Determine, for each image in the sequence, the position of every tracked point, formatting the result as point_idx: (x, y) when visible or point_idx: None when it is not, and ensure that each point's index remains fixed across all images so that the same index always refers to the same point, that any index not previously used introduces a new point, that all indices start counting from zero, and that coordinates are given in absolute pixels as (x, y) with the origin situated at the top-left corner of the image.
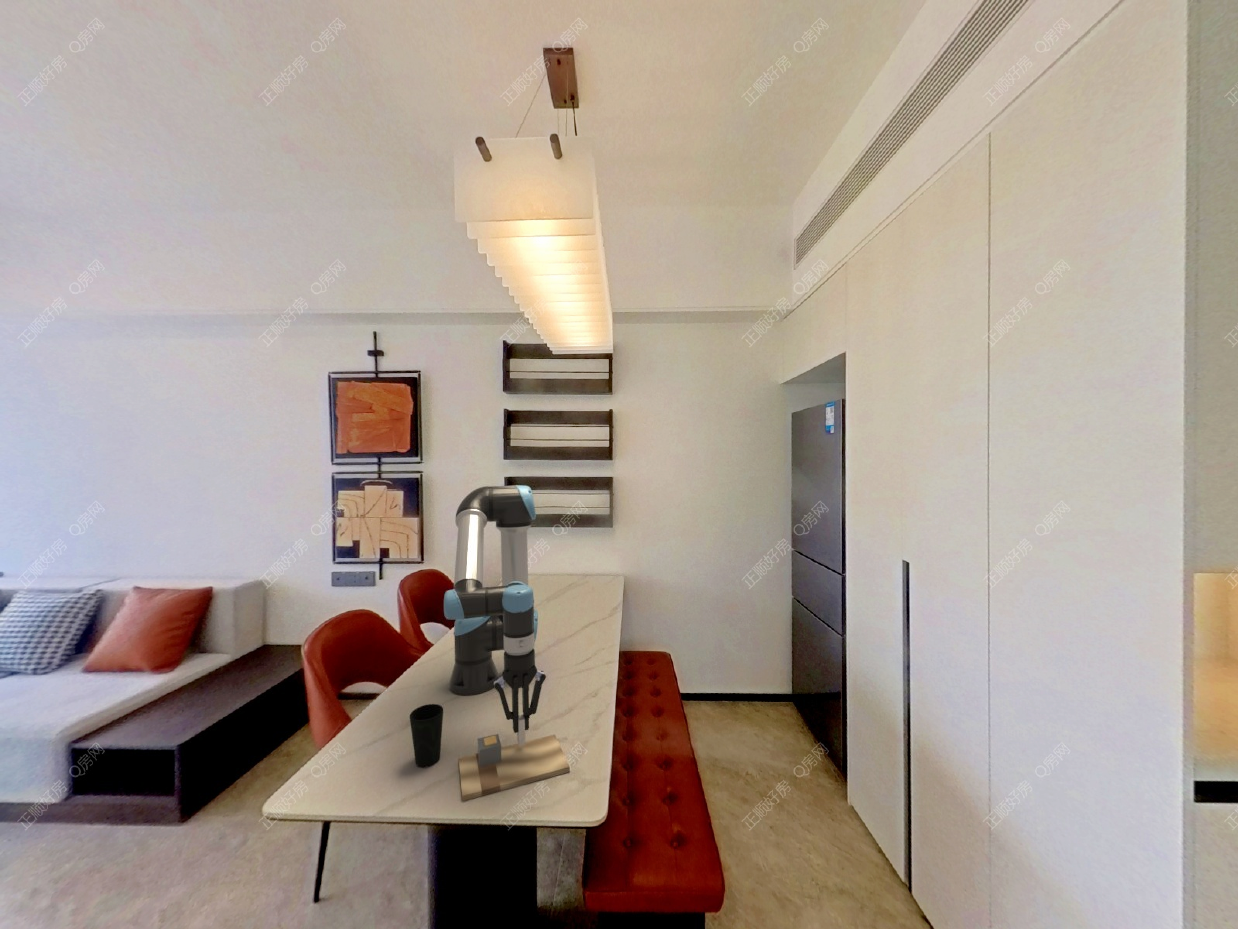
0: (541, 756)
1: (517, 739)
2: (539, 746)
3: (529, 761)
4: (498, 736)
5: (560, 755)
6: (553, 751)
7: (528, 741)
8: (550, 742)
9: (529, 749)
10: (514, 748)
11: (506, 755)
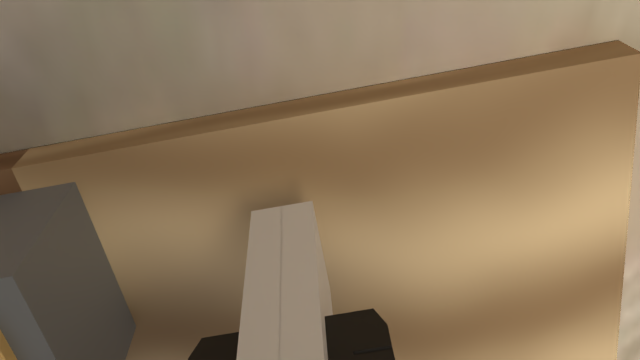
0: (450, 324)
1: (251, 226)
2: (454, 208)
3: None
4: (30, 321)
5: (590, 335)
6: (553, 287)
7: (360, 118)
8: (562, 172)
9: (363, 232)
10: (227, 195)
11: (165, 269)
